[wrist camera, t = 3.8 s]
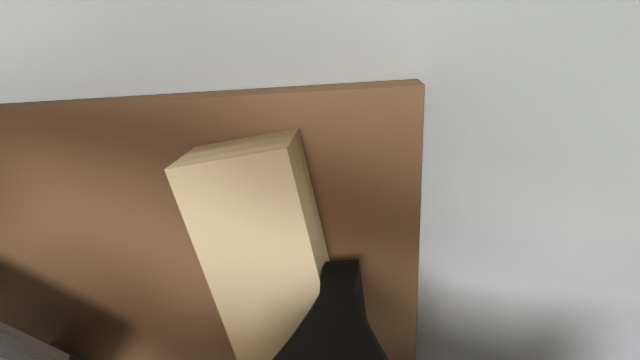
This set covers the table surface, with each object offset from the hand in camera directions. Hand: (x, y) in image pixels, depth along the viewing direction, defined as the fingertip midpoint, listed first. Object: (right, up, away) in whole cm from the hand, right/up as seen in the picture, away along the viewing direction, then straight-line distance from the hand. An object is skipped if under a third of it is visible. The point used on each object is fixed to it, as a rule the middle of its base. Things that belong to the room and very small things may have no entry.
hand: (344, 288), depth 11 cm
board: (-5, -3, +4) cm, 7 cm away
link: (-1, -3, +2) cm, 3 cm away
